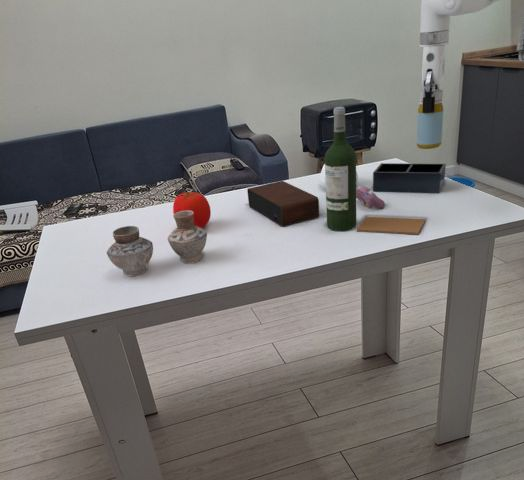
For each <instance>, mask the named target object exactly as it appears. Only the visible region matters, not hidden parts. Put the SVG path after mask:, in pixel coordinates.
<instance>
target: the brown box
mask: <svg viewBox="0 0 524 480" xmlns="http://www.w3.org/2000/svg"><path fill="white" fill-rule="evenodd" d="M246 191H247V201H248V207H249V208H251V209H252V210H254V211H255V212H257V213H259V214H260V215H262V216H263V217H265V218H267V219H268V220H270V221H272V222H273V223H274V224H277V225H278V226H280V227H281V228H283V227H286V226H289V225H293V224H297V223H301V222H305V221H309V220H314V219H316V218H320V199H319V197H318V196H317V195H314V194H312V193H309V192H308V191H306V190H304V189H301V188H300V187H297V186H295V185H293V184H290V183H288V182H286V181H284V180H279V181H274V182H271V183H266V184H261V185H256V186H252V187H249V188H247V190H246Z"/></svg>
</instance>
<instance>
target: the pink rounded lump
mask: <svg viewBox="0 0 524 480" xmlns="http://www.w3.org/2000/svg"><path fill="white" fill-rule="evenodd" d="M356 200H358V201H359V202H360V203H361V205H362V206H366V207H367V208H368V209H371V208H372V207H374V208H376V209H379V210H383V209H384V208H385V206H386V203H385V201H384V200H383V199H381V198H380V197H378V196H377V195H376V194H375V192H373V190H371V189H370V188H369V187H367V186H360V185H359V186H358V187H356Z"/></svg>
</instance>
